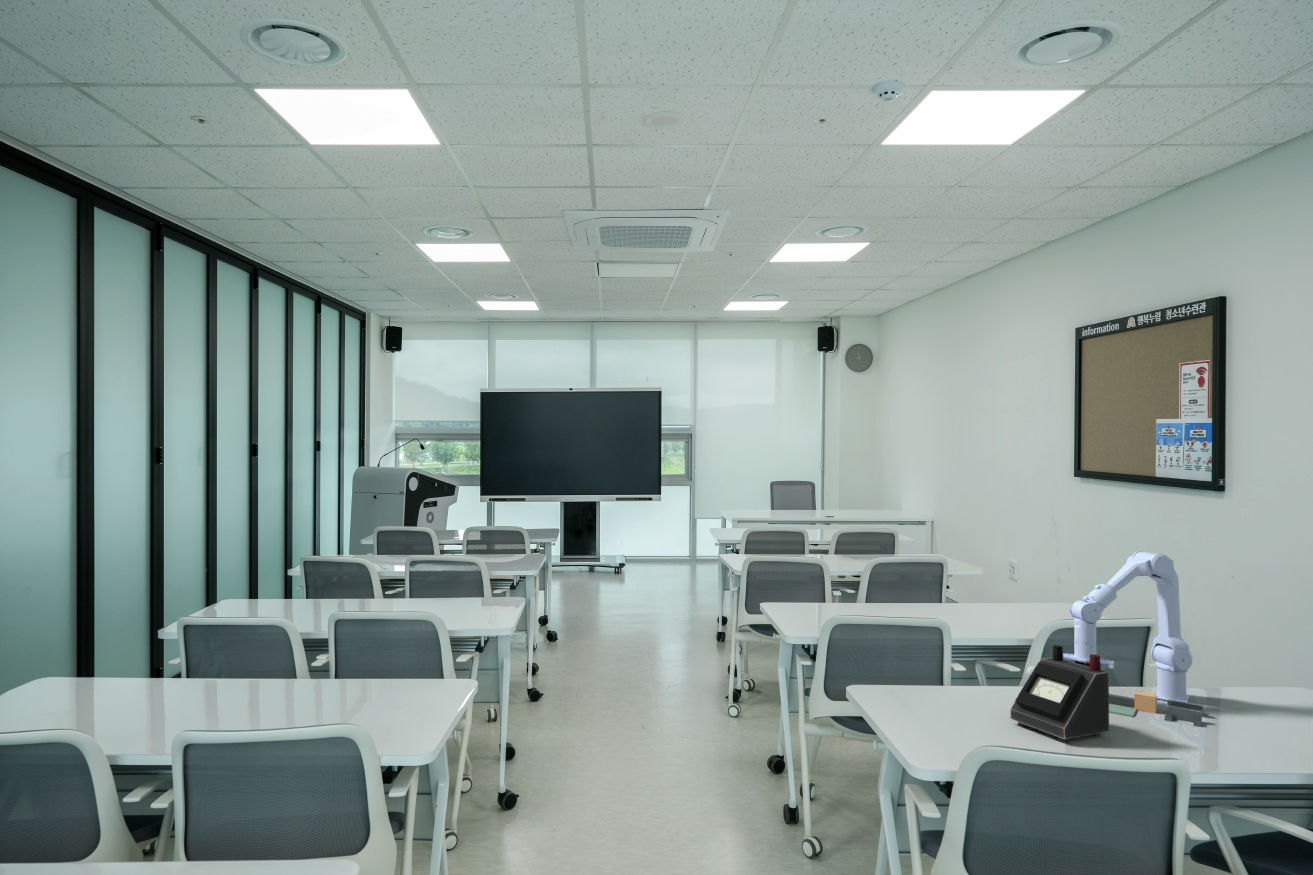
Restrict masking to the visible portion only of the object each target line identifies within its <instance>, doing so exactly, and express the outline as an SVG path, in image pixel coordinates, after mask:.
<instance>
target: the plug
mask: <svg viewBox="0 0 1313 875" xmlns="http://www.w3.org/2000/svg"><path fill="white" fill-rule="evenodd" d="M1133 696H1134V697H1129V696H1123V695H1118V694H1112V693H1109V704H1114V705H1120V706H1125V707H1131V708H1136V709H1137V710H1136V711H1140V712H1146V713H1152V714H1156V713H1157V710H1158V705H1157V704H1158V699H1157V694H1156V693H1154V692H1149V691H1148V692H1146V691H1140V690H1135V692H1134V694H1133Z"/></svg>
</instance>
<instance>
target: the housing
mask: <svg viewBox="0 0 1313 875" xmlns="http://www.w3.org/2000/svg"><path fill="white" fill-rule="evenodd" d="M1203 707H1204V705H1203V704H1198V703H1193V702H1189V701H1188V702H1182V701H1176V700H1170V699H1168V701H1167V704H1166V705H1165V714H1164V721H1167V722H1173V720H1179V721H1184V722H1190V723H1193V726H1195V727H1199V728H1201V727H1202V725H1203V724H1202V723H1203V717H1204V708H1203Z"/></svg>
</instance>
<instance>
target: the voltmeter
mask: <svg viewBox="0 0 1313 875" xmlns="http://www.w3.org/2000/svg"><path fill="white" fill-rule="evenodd" d="M1063 651H1064V647H1063V646H1062V645H1060V644H1058V645H1057V644H1053V646H1052V657H1045V658H1040V659H1039V661H1038V662H1037V664H1036V665H1035V669H1034V670H1033V672H1032V674H1031V675H1030V677H1028V678H1027V680H1026V681H1025V684H1024V685H1023V687H1022V688H1021V689H1020V691H1019V694H1018V695H1017V697H1016V699H1015V700H1014V702H1013V704H1012V706H1011V708H1010V709H1009V711H1010V714H1009V716H1010V717H1009V718H1010V719H1011V720H1013V721H1015V722H1017V724H1018V726H1019V727H1022V728H1027V727H1028V726H1029V727H1031V728H1034V729H1037V730H1039V731H1042V732H1044V733H1047V734H1050V735H1052V736H1055V737H1057V740H1058V741H1059V742H1060V743H1068V739H1073V738H1074V739H1075V738H1079V737H1085V736H1092V737H1101V734H1102V733H1108V732H1110V713H1109V694H1110V677H1109V676H1110V673H1109V672H1110V671H1106V670H1102V668H1101V667H1102V666H1101V662H1100V658H1101V655H1099V654H1096V655H1095V654H1090V661H1089V667H1088V666H1084V665H1080V664H1077V663H1075V662H1070V661H1065V660H1063V653H1064V652H1063Z"/></svg>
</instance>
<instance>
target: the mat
mask: <svg viewBox="0 0 1313 875" xmlns="http://www.w3.org/2000/svg"><path fill="white" fill-rule="evenodd" d="M1137 711H1138V710H1137V709H1136V708H1131V707H1125V706H1120V705H1114V704H1109V714H1115V715H1119V716H1126V717H1132V718H1133V717H1135V715H1136V712H1137Z"/></svg>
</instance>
